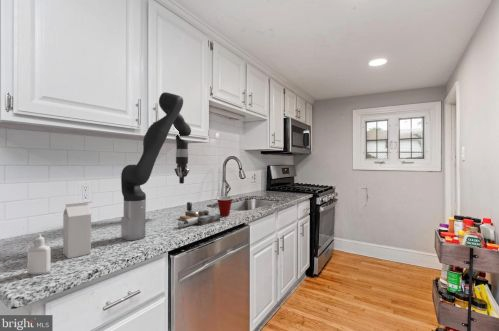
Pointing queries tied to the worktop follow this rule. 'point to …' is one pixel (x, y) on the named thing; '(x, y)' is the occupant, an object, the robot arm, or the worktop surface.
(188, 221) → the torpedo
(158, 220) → the worktop surface
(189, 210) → the bolt
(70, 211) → the milk carton
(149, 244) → the worktop surface
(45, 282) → the worktop surface
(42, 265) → the eye dropper bottle
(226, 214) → the plastic cup
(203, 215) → the lock plate
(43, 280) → the worktop surface
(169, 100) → the robot arm
